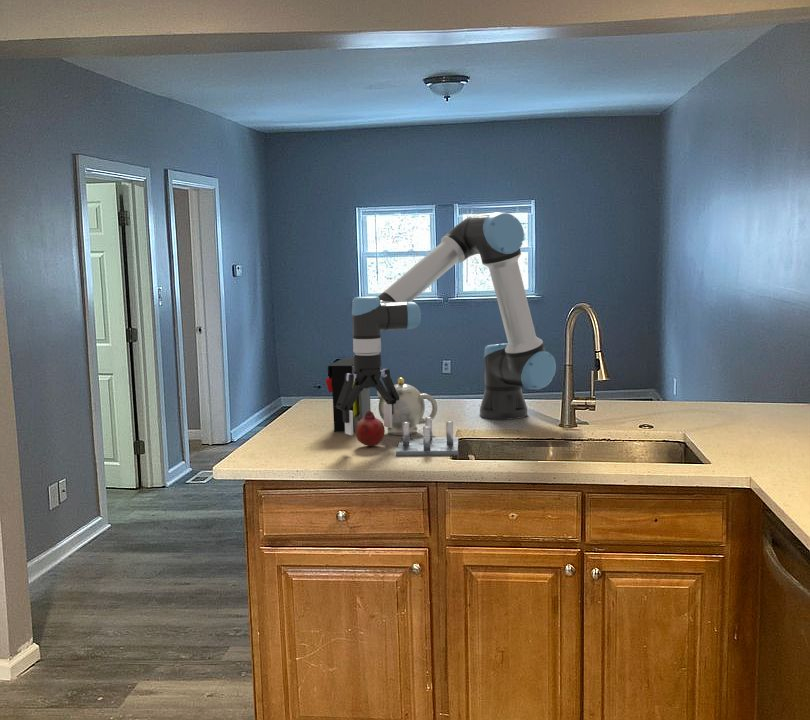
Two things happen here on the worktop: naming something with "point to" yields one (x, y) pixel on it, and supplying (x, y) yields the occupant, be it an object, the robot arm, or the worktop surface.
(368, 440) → the fruit
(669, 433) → the worktop surface
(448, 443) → the grey square pegged plate
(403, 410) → the teapot
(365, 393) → the electrical component
